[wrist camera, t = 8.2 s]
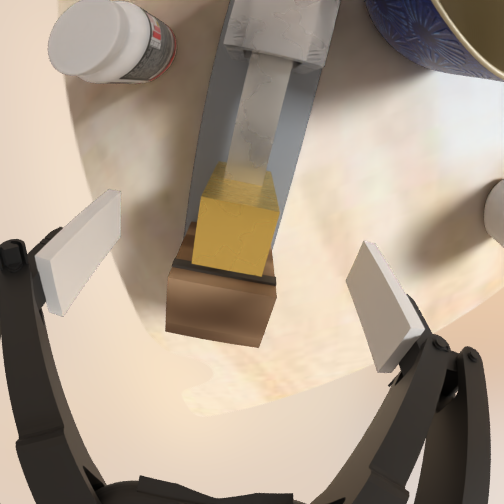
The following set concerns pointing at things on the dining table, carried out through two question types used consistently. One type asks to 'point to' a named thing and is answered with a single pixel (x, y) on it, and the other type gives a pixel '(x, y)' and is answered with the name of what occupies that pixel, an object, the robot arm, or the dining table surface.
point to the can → (495, 213)
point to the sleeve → (282, 31)
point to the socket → (218, 299)
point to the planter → (445, 34)
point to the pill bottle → (111, 43)
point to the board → (224, 117)
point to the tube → (245, 178)
